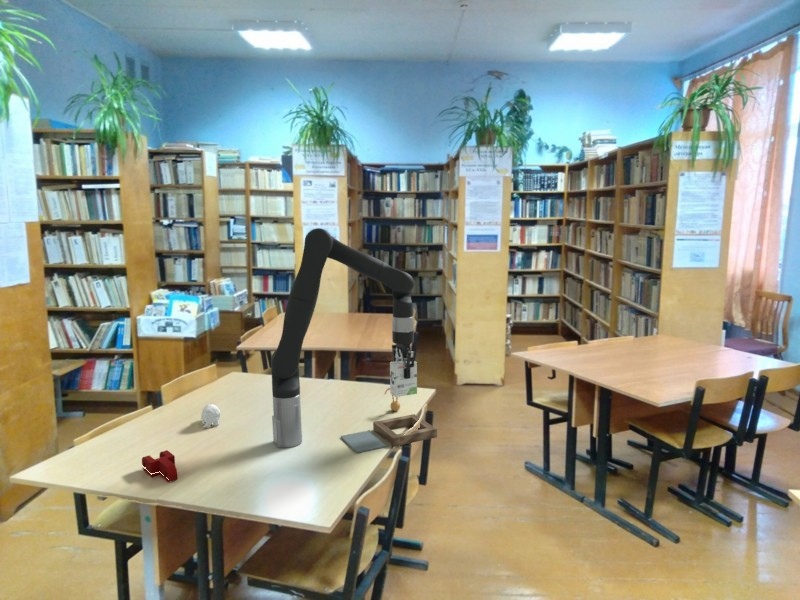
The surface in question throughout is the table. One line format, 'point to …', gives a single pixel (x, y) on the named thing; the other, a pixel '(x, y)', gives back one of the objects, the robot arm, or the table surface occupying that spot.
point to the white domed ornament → (210, 415)
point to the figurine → (394, 403)
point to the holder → (395, 439)
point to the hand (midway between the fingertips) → (403, 376)
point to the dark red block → (161, 466)
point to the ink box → (402, 379)
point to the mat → (363, 441)
